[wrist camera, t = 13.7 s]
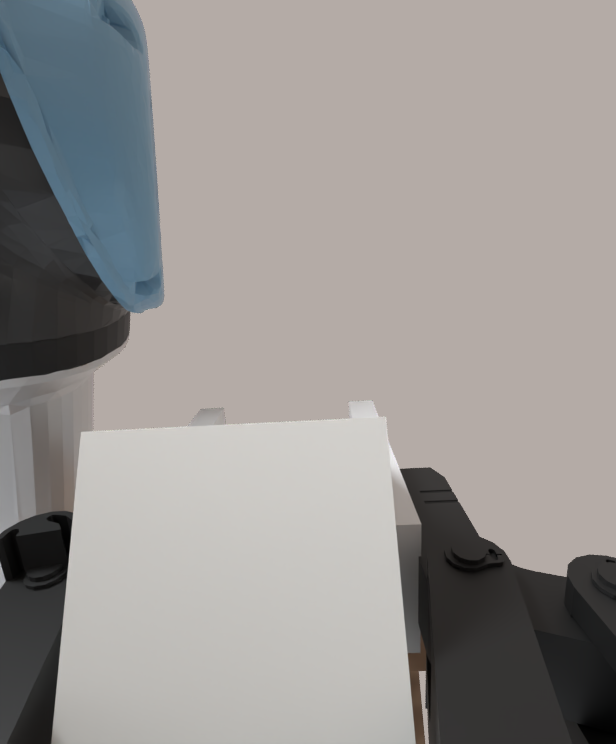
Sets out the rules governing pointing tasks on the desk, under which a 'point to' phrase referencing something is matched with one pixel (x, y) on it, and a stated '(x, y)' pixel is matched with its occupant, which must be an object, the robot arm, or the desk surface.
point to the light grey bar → (234, 588)
